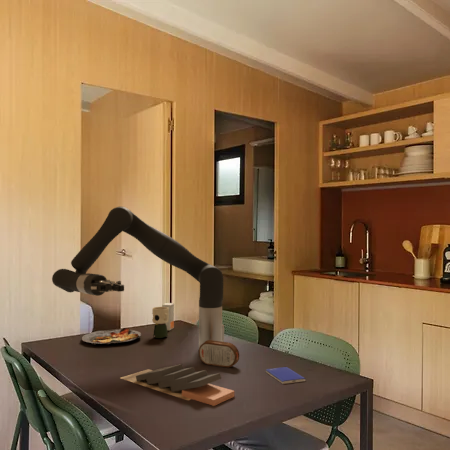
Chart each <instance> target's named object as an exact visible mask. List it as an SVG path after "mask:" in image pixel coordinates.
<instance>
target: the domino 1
mask: <svg viewBox="0 0 450 450" xmlns="http://www.w3.org/2000/svg"><path fill="white" fill-rule="evenodd" d="M182 369H184V366H183V363H179V364H174V365H170V366H165V367H160V368H157V369H153V371H150V372H146V373H143V374H140V375H137V376H136V380H137V381H140V380H145V379H150V378H155V377H161V376H164V375H167V374H170V373H173V372H176V371H179V370H182Z"/></svg>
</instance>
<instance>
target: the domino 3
mask: <svg viewBox="0 0 450 450" xmlns="http://www.w3.org/2000/svg"><path fill="white" fill-rule="evenodd" d="M207 375H209V374H208V371H207V369H204V370H199V371H195V373H192V374H189V375H186V376H183V377H180V378H177V379H175V380H170V381H164V382H159V383H158V385H159V388H164V387H169V386H175V385H180V384H185V383H189V382H191V381H194V380H197V379H199V378H202V377H205V376H207Z"/></svg>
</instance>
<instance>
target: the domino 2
mask: <svg viewBox="0 0 450 450" xmlns="http://www.w3.org/2000/svg"><path fill="white" fill-rule="evenodd" d="M195 372H196V369H195V367H194V366H192V367H187V368H183V369H182V370H179V371H176V372H173V373H170V374H167V375H164V376H161V377H155V378H150V379H146V380H147V384H154V383H159V382H164V381H170V380H175V379H177V378H180V377H183V376H186V375H189V374H192V373H195Z"/></svg>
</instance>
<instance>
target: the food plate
mask: <svg viewBox="0 0 450 450" xmlns="http://www.w3.org/2000/svg"><path fill="white" fill-rule="evenodd" d="M141 337H142V332H140V331H138V330H133V329H131V328H127V327H123V328H122V329H120V328H118V329H105V330H97V331H93V332H90V333H89V332H88V333H86V334H84V335H82V337H81V339H82V341H83V342H86V343H91V344H92V345H96V344H100V345H103V344H104V345H111V344H119V343H126V342H133V341H135V340H138V339H139V338H141Z"/></svg>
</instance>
